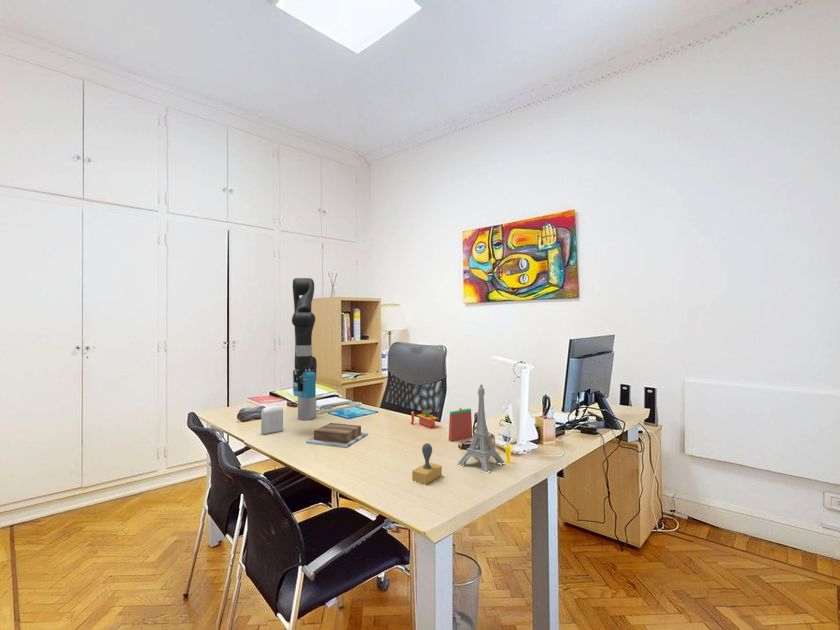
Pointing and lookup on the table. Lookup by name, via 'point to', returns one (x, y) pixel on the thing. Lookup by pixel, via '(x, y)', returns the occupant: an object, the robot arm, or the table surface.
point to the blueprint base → (337, 435)
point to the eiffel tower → (481, 440)
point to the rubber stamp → (426, 468)
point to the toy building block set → (450, 423)
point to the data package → (306, 385)
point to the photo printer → (271, 419)
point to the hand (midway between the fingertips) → (304, 390)
